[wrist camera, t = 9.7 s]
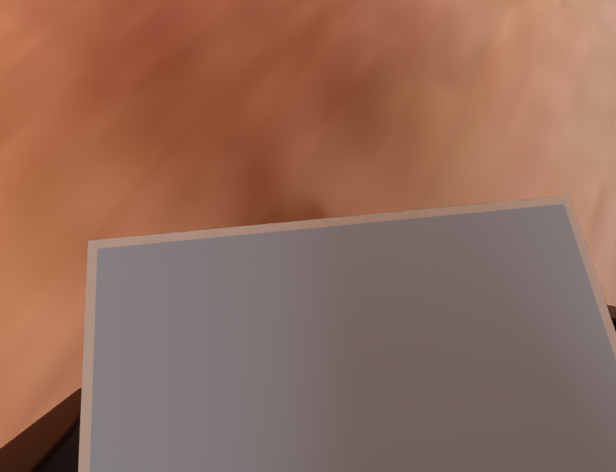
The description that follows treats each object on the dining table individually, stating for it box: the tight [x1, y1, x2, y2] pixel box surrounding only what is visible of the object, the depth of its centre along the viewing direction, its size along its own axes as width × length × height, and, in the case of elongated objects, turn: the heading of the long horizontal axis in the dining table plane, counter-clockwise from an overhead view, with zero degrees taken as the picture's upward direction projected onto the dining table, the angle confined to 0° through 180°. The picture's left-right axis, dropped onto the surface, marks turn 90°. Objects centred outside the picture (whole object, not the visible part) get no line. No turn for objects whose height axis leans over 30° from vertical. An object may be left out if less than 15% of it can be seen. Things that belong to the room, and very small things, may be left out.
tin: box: [78, 196, 616, 472], centre depth 10 cm, size 5×5×12 cm
